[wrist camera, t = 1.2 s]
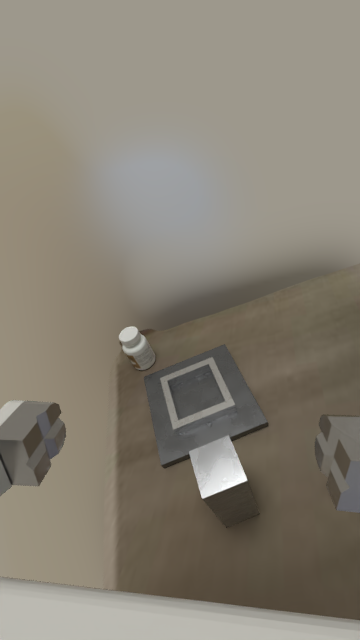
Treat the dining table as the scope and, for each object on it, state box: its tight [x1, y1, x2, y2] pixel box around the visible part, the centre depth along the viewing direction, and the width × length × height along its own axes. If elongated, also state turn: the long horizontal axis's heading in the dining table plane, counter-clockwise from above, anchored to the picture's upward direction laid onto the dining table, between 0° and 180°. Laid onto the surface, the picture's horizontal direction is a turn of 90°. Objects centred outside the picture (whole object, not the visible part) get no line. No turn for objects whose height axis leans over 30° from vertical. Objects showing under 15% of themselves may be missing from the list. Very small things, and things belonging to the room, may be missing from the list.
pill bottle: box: [119, 327, 155, 370], centre depth 49 cm, size 4×4×8 cm
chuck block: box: [144, 344, 268, 468], centre depth 41 cm, size 15×15×3 cm
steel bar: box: [189, 435, 260, 528], centre depth 28 cm, size 4×4×12 cm
